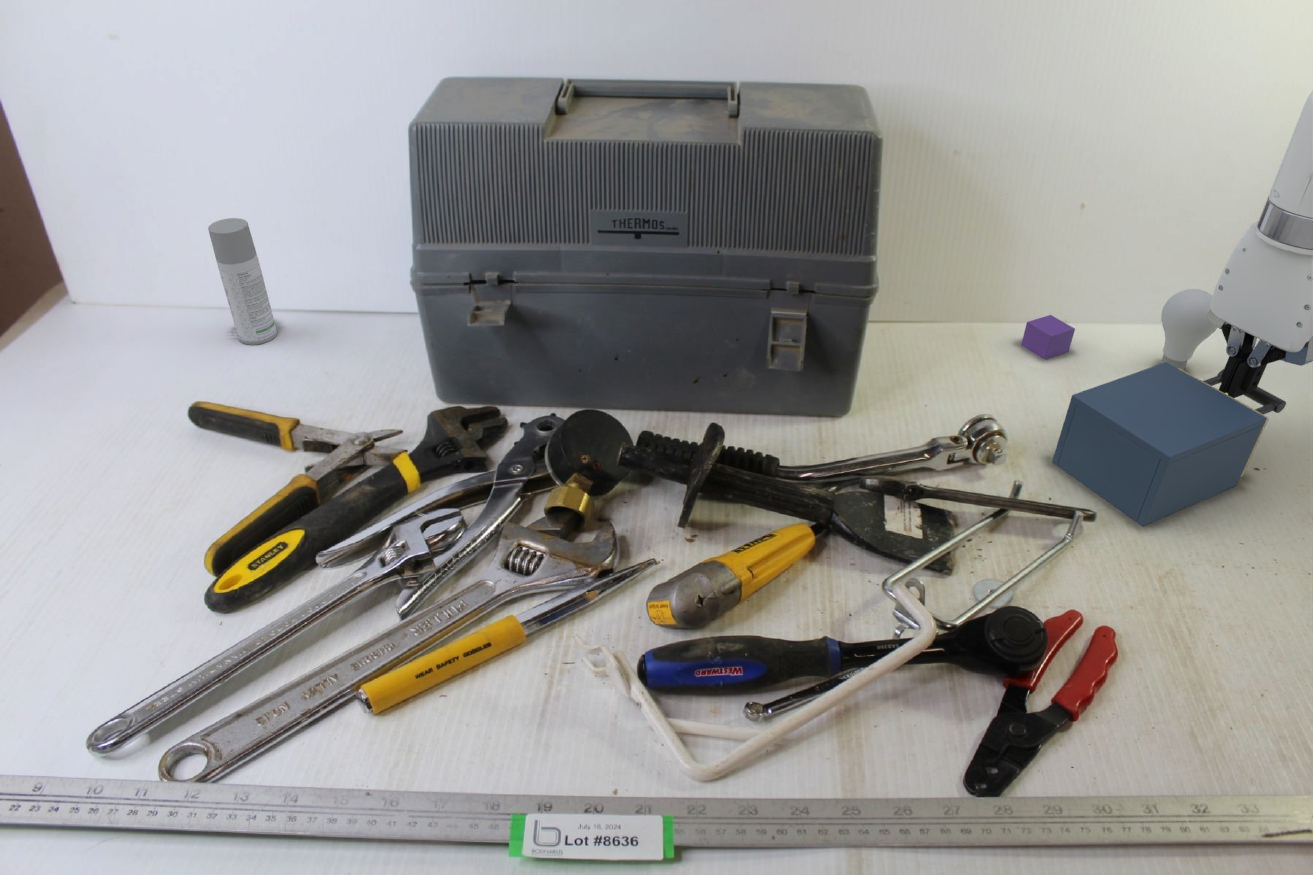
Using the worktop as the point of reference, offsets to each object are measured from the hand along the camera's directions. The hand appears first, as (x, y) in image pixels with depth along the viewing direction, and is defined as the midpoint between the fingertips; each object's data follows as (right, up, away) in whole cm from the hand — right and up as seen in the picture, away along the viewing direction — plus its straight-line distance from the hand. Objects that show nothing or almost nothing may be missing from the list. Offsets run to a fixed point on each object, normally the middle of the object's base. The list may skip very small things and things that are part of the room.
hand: (1234, 391), depth 100 cm
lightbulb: (+2, +3, +17) cm, 17 cm away
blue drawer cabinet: (-9, -9, 0) cm, 13 cm away
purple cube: (-11, +6, +21) cm, 24 cm away
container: (-110, +8, +24) cm, 113 cm away
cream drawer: (-5, -7, +2) cm, 9 cm away
